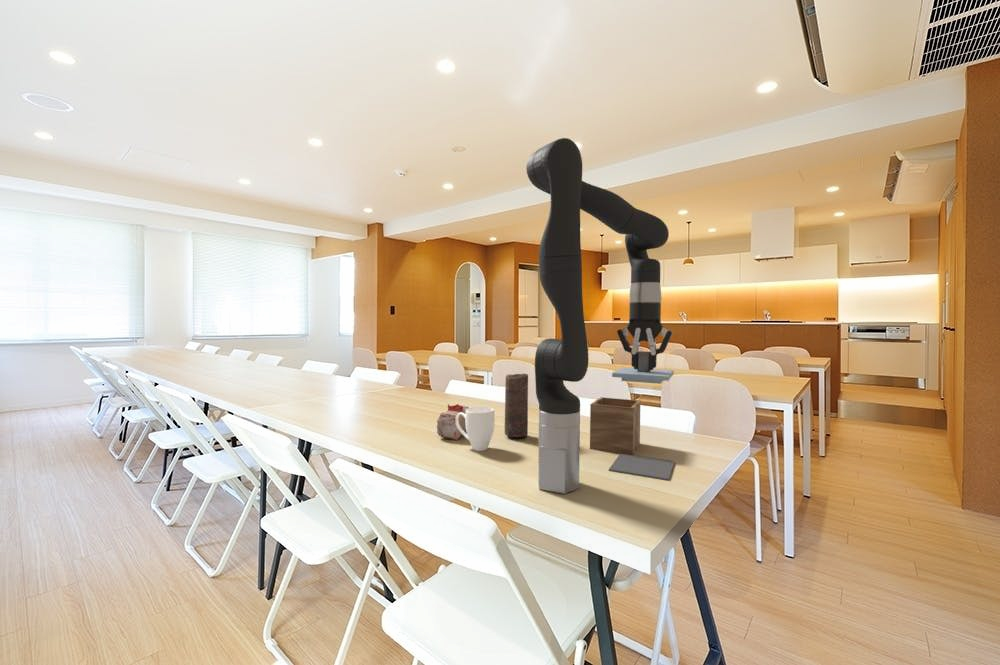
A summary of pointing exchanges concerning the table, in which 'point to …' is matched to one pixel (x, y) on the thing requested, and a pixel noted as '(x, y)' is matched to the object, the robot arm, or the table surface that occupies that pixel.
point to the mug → (478, 426)
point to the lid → (643, 371)
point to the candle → (516, 405)
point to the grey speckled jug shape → (451, 422)
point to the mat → (643, 466)
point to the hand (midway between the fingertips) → (643, 369)
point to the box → (615, 425)
